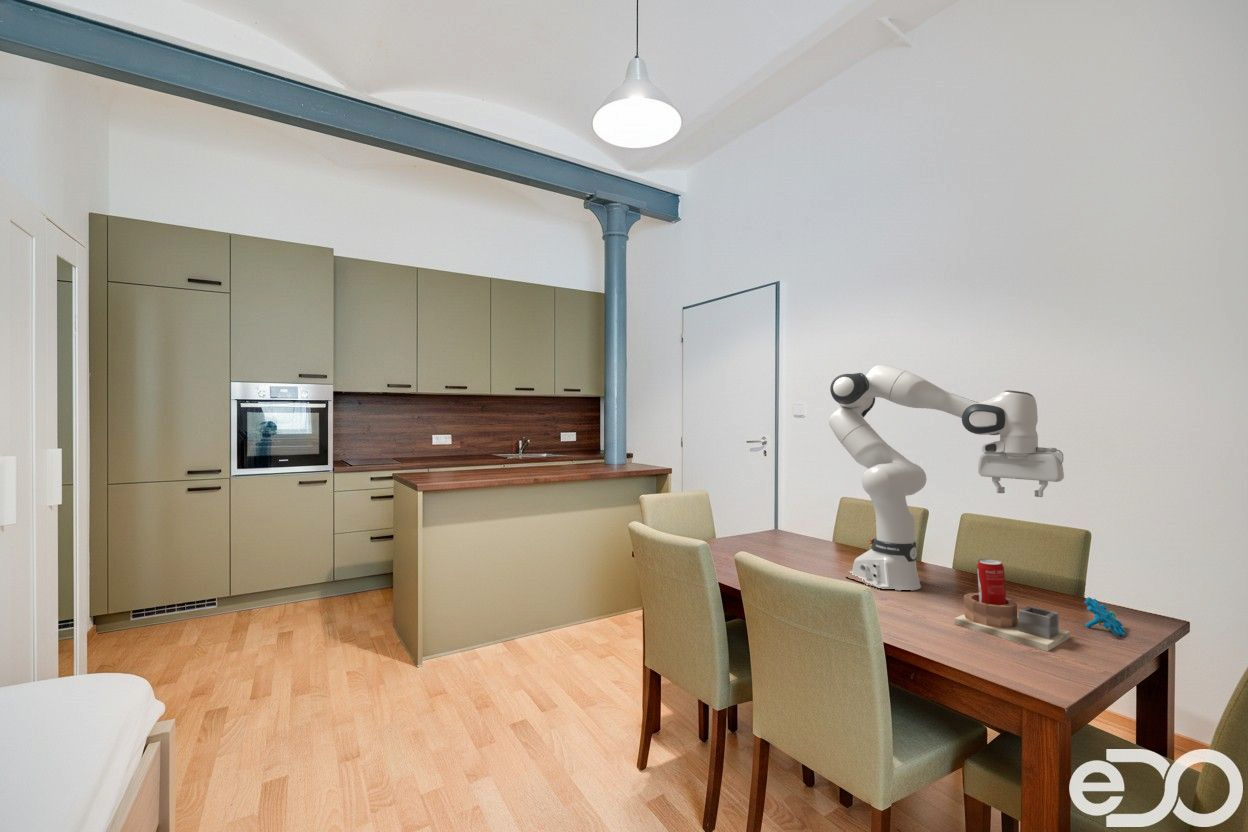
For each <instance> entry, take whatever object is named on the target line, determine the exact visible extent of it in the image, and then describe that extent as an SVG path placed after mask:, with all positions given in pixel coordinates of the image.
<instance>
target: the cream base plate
mask: <svg viewBox="0 0 1248 832" xmlns="http://www.w3.org/2000/svg"><path fill="white" fill-rule="evenodd" d="M1059 620H1060V619H1059V612H1056V611H1052V610H1049V609H1044V608H1040V607H1035V606H1032V605H1027V606H1026V607H1023V608H1021V609H1019V610H1018V604H1017V602H1016V601H1015V600H1013V599H1012V598H1008V597H1006V605H992V604H986V603H982V602H979V592H968V593H966V594H964V595H963V614H961V615H959V616H957V617H954V620H953V622H954V625H957V626H960V627H962V628H963V627H964V628H967V629H970V630H974V631H978V632H979V633H984V634H986V635H987V634H988V635H990V636H994V637H998V638H1002V639H1004V640H1008V641H1011V642H1014V643H1018V644H1020V645H1021V644H1022V645H1023V646H1024V645H1025V646H1029V647H1032V648H1035V649H1038V650H1042V651H1045V652H1048V651H1050V650H1053V649H1054V648H1056V647H1057V646H1059V645H1060V644H1062V643H1063V642H1064V643H1065V642H1066V641H1067V640H1068V639H1070V638H1071V632H1070V631H1069V630H1065V629H1062V628H1059V623H1060V622H1059Z"/></svg>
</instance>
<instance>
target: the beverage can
mask: <svg viewBox="0 0 1248 832" xmlns="http://www.w3.org/2000/svg"><path fill="white" fill-rule="evenodd" d="M976 565H977V566H976V568H977V584H978V593H979V602H982V603H986V604H992V605H1006V598H1007V594H1006V579H1005V567H1004V565H1003V562H1002V561H1001V560H999V559H994V558H980V559H979V560H978V562H977V564H976Z"/></svg>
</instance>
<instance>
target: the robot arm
mask: <svg viewBox="0 0 1248 832" xmlns="http://www.w3.org/2000/svg"><path fill="white" fill-rule="evenodd" d="M829 390H830V394H831V397H832V398H833V400H834V401H835V402H836V403H837V404H838V407H837V409H836V410H834V411H833V413H831V414H830V417H829V419H828V425H829V427H830V429H831V430H832V432H833V433H834V436H835V437H836V439H837V440H838V441H839V442H840V444H841V445H842V447H844V449H845V450H846V451H847V452H848V454H849V455H850V456H851V457H852V458H853V459H854V461H855V462H856V463H857V464H859V465H861V466H863V467H865V468H867V469H866V470H865V471H864V473H863V475H862V477H861V485H862V488H863V490H864V491H865V493H866V494H868V496H869V497H870V500H871V503H872V505H873V510H874V515H875V527H876V528H875V529H876V531H875V533H876V534H875V535H876V537H875V538H873V539H870V540H869V542H868V545H870V544H871V548H870V549H868V550H867V551H866V552H863V553H862V554H860V555H859V556H856V558H854V561H853V563H852V570H850V571H848V572H850V573H852V575H855V576H858V577H859V578H862V581H863V579H864V580H865V582H867V583H870V584H871V585H872V584H873V585H874V586H876V587H878V588H882V589H895V590H894V591H901V590H911V591H917V590H920V589H921V588H922V585H921V582H920V578H919V575H918V570H917V569H918V568H917V562H916V561H917V554H918V553H917V542H916V541H915V538H916V537H915V536H916V535H915V534H916V533H915V532H916V531H915V529H916V528H915V527H916V526H915V525H916V524H915V523H916V522H915V521H916V520H915V516H914V515H913V513H912V512H911V511H910V509H909V507H908V503H907V499H906V497H907V496H912V495H915V494H917V493H918V492H920V491H921V490H923V489H924V487H925V485H926V484H927V475H926V471H925V470H924V469H923V467H921V466H920V465H918V464H916V463H914V462H912V461H910V460H909V459H908V458H906V457H905V456H904V455H902V454H901V453H900V452H898V451H897V450H896V449H894V447H892V446H891V445H890V444H889V443H887V442H886V441H885V440H884V439H883V438H882V437H881V436H880V434H879V433H877V432H876V430H875V429H874V428H873V427H872V426H871V424H869V422H867V420H866V419H865V417H866V415H867V414H868V413H869V412H870V411H871V410H872V408H873V407H874V405H875V402H876V398H881V399H885V400H886V401H889V402H892V403H893V404H896V405H900V406H903V407H907V408H912V409H926V410H927V409H929V410H936V411H940V412H945V413H947V414H950V415H953V416H955V417H958V418H960V419H961V423H962V425H963V427H964V428H965V430H967V432H970V433H971V434H974V435H979V436H982V435H984V436H987V435H989V436H998V435H999V440H997V441H993V442H989V443H985V444H982V445H981V446H980V450H981V452H982V453H981V454H979V458H978V464H977V473H978V474H979V476H980V477H984V478H986V477H987V478H991V482H992V483H993V485H994V486H995V487H996V493H997V494H1005V492H1006V490H1005V488H1006V487H1004V486H1002V484H1001V483H1000V481H1001V479H1010V480H1011V479H1012V480H1013V479H1015V480H1024V481H1025V480H1027V481H1038V485H1040V487H1039V488H1038V489H1036V490H1034V497H1037V498H1043V497H1044V490H1045V489H1046V488H1047V487H1048V485H1049V482H1051V483H1052V482H1054V483H1058V482H1061V481H1063V480H1064V478H1065V473H1064V472H1065V471H1064V466H1063V463H1064V452H1062V451H1061V450H1060V449H1058V448H1056V447H1040V446H1039V437H1038V436H1039V435H1038V431H1037V424H1038V422H1039V420H1038V419H1039V418H1038V417H1039V416H1038V406H1037V405H1038V404H1037V400H1036V398H1035V396H1034V395H1033V394H1031V393H1030V392H1026V391H1017V390H1003V391H1001V393H1000V394H997V395H995V396H994V397H991V398H989V399H985V400H983V401H980V402H979V401H975V400H971V399H969V398H966V397H963V396H960V395H958V394H954V393H951V392H949V391H947V390H945V389H943V388H941V387H939V386H937V385H936V384H934V383H932V382H930V381H928V380H927V379H925V378H923V377H921V376H920V375H917V374H915V373H913V372H910V371H907V370H905V369H901V368H898V367H894V366H890V365H883V364H877V365H875V366H873V367H872V368H871V369H869V371H868V373H867V374H866V375H865V373H863V372H856V373H855V372H854V373H844V374H840V375H837V376H835V378H834V379H833V380H832V381H831V384H830V388H829ZM865 586H868V584H866V585H865Z"/></svg>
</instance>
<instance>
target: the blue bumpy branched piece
mask: <svg viewBox="0 0 1248 832" xmlns="http://www.w3.org/2000/svg"><path fill="white" fill-rule="evenodd" d="M1099 603H1100V602H1099V601H1098V600H1097V599H1096V598H1091V597H1088V596H1087V597H1086V598H1085V600H1084V604H1086V605H1087V607H1086V608H1087V610H1088V611H1089V612H1091V613H1092V614H1094V615H1093V617H1094V619H1092V620H1091V621H1090V620H1089V622H1087V623H1085V626H1086V628H1088V627H1090V628H1091V627H1094V626H1095V625H1097V624H1099V625H1102V626H1103V627H1104V628H1105V629H1106V630H1109V629H1110V632H1111V633H1112V634H1113V635H1115V636H1120V635H1124V636H1125V635H1126V634H1125V633H1126V631H1127V630H1126V629H1125V628H1124V627H1123V626H1124V625H1123V622H1121V621H1120V620H1118V619H1116V617H1117V616H1116V613H1115V611H1113V610H1110V611H1107V609H1108V607H1107V606H1106V605H1105V604H1103V603H1102V604H1099Z"/></svg>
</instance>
